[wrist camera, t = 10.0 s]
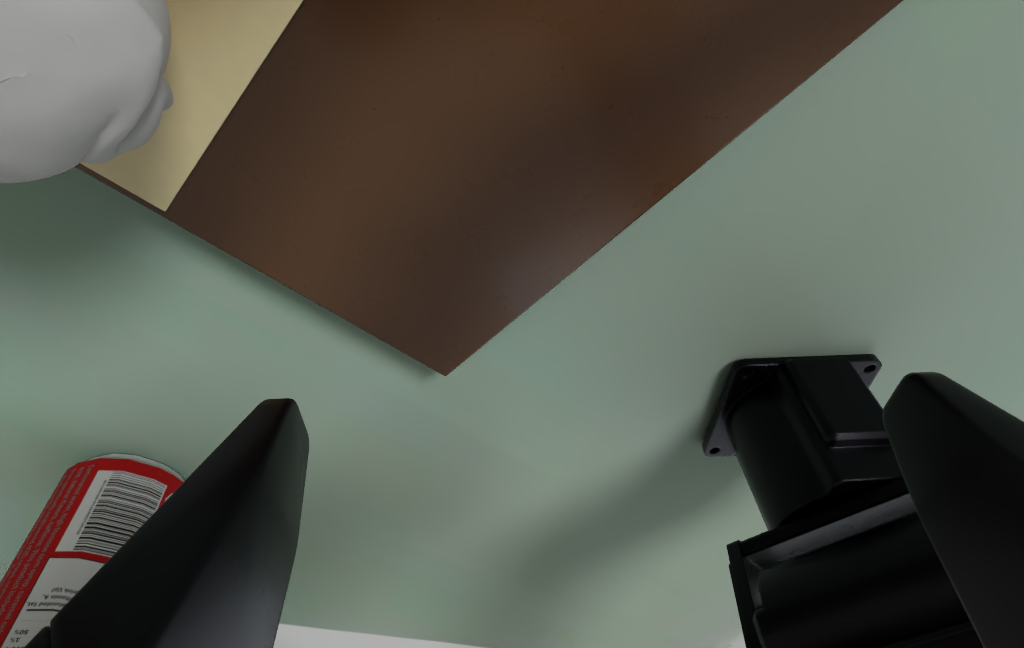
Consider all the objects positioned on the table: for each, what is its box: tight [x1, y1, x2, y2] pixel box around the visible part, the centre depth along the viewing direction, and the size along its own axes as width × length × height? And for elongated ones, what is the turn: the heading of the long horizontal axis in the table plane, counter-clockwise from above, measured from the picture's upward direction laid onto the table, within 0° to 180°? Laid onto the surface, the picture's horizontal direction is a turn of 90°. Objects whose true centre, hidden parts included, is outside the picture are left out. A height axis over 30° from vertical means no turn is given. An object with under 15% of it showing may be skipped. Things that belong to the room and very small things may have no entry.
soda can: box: [0, 453, 184, 648], centre depth 24 cm, size 6×6×12 cm
